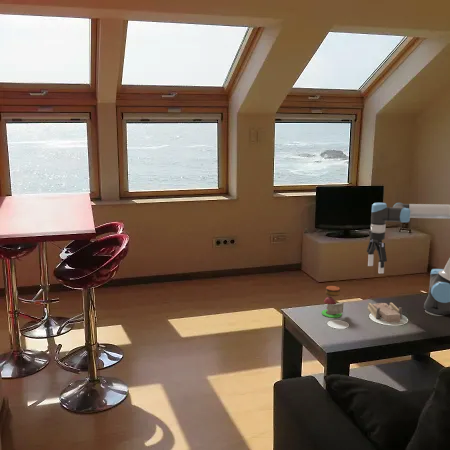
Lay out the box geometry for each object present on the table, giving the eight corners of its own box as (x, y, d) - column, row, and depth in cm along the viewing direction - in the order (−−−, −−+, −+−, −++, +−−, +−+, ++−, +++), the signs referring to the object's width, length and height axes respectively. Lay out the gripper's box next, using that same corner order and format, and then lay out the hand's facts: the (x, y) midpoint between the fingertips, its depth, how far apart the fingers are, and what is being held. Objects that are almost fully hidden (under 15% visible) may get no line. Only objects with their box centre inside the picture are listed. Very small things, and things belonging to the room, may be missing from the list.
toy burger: (314, 313, 269) (316, 287, 266) (330, 308, 276) (331, 283, 273) (331, 320, 260) (333, 293, 257) (347, 315, 267) (349, 288, 264)
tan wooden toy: (391, 309, 276) (392, 299, 274) (401, 318, 263) (402, 308, 261) (367, 309, 275) (368, 299, 273) (376, 319, 262) (377, 308, 260)
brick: (401, 322, 260) (401, 313, 259) (386, 323, 258) (387, 314, 257) (384, 310, 275) (385, 302, 274) (370, 311, 274) (371, 303, 273)
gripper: (361, 226, 277) (360, 263, 282) (381, 237, 253) (378, 276, 257) (374, 226, 278) (372, 262, 282) (395, 236, 254) (392, 276, 258)
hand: (375, 269), depth 270 cm, fingers open, 13 cm apart
